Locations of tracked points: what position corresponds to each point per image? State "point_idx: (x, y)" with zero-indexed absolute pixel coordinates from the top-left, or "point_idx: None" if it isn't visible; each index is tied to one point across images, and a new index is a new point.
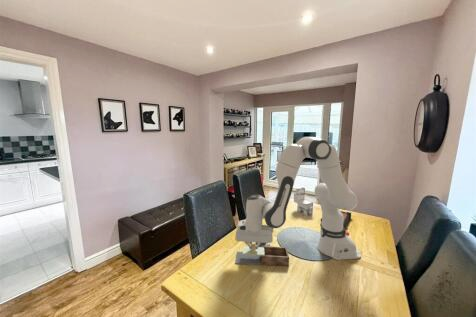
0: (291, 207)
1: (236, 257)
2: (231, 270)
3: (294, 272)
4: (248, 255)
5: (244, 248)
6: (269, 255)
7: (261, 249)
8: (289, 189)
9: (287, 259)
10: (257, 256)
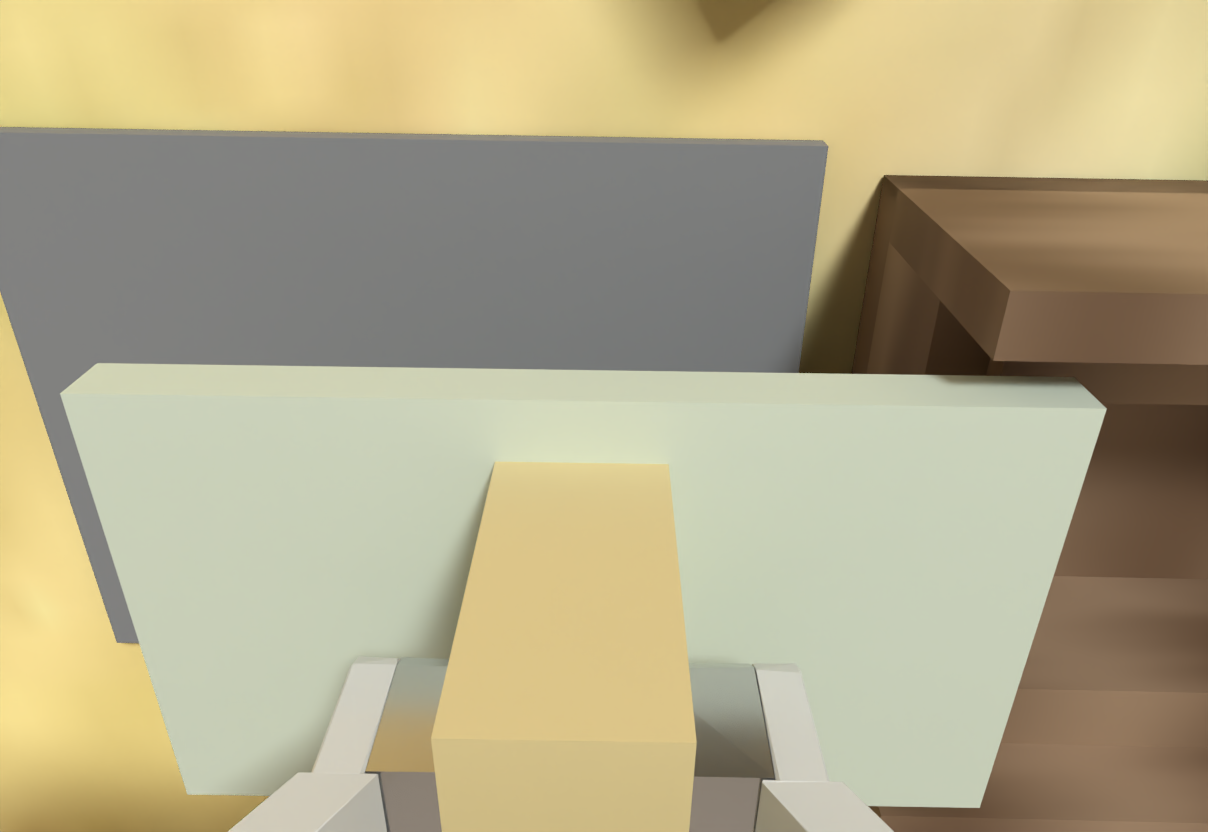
0: None
1: (57, 443)
2: (117, 792)
3: None
4: (417, 329)
5: (161, 539)
6: (1148, 826)
7: (937, 551)
8: None
9: None
10: (724, 361)
